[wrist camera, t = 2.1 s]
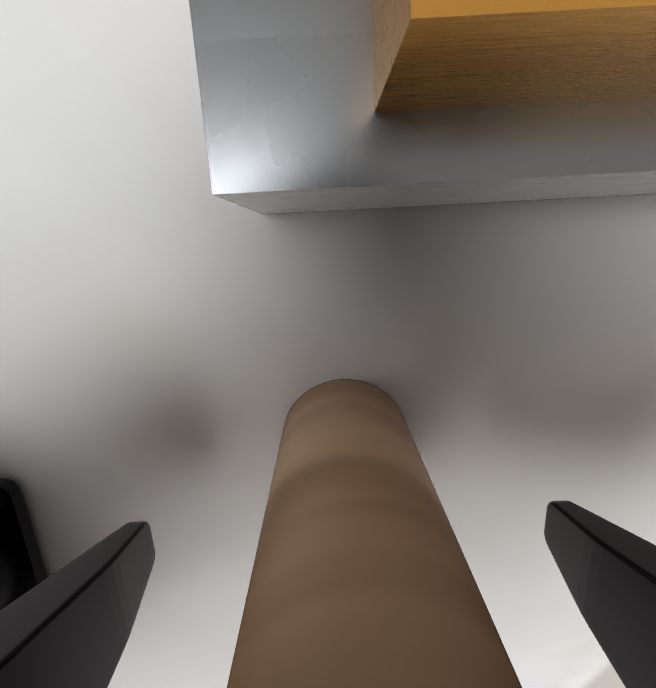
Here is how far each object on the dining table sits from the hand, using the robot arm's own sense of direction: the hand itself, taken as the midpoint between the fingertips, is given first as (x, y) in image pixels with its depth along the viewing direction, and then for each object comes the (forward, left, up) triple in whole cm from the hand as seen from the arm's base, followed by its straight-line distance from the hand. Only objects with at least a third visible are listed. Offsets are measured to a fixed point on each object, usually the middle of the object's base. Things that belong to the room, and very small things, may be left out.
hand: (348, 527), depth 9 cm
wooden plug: (0, 0, -4) cm, 4 cm away
